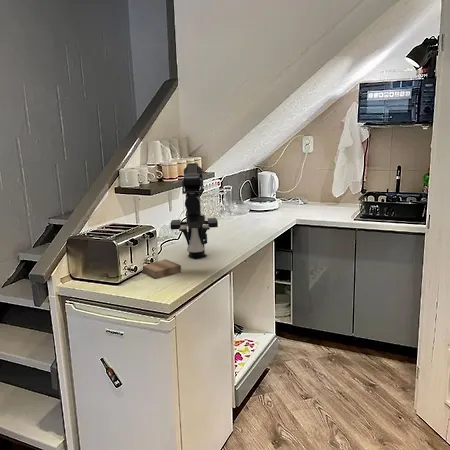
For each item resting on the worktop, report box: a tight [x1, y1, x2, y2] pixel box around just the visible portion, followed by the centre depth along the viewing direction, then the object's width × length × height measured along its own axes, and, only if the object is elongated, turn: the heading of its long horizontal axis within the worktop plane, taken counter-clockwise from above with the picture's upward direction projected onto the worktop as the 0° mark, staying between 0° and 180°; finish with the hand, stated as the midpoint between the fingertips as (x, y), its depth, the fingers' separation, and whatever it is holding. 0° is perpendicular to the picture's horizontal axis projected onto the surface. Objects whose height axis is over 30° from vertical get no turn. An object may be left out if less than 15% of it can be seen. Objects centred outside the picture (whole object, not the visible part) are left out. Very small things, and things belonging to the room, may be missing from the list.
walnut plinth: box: [141, 258, 182, 280], centre depth 189 cm, size 12×12×3 cm
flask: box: [186, 228, 206, 253], centre depth 184 cm, size 7×7×10 cm
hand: (195, 244), depth 185 cm, fingers closed on flask, 5 cm apart
